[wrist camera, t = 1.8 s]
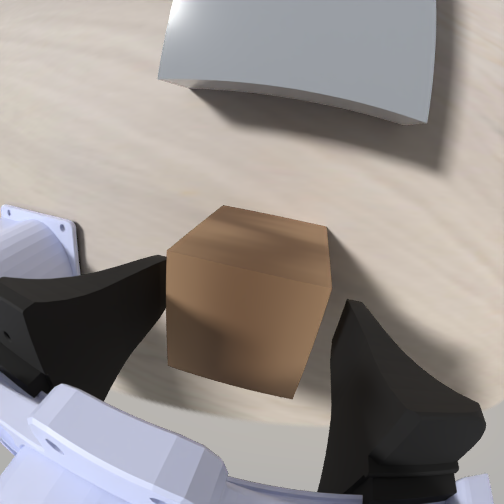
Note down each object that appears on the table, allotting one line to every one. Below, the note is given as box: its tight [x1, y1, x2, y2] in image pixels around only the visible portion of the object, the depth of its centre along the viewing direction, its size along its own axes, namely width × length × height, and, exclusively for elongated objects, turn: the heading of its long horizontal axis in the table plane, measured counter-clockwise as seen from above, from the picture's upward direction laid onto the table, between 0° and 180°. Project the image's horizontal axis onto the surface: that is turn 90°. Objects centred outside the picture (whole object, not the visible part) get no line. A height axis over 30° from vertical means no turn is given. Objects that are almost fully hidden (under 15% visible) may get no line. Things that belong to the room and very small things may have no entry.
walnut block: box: [166, 205, 332, 399], centre depth 12 cm, size 5×5×6 cm
